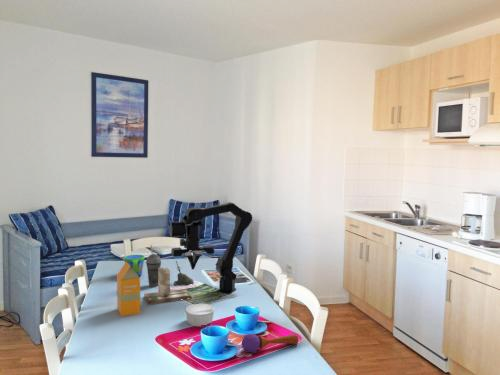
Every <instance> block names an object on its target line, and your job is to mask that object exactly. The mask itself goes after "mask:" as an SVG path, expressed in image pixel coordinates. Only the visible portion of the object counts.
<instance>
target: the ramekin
mask: <svg viewBox="0 0 500 375" xmlns="http://www.w3.org/2000/svg"><path fill="white" fill-rule="evenodd" d="M214 312H215V308H214V306H213V305H210V304H206V303H196V304H195V303H194V304H190V305H187V307H186V308H185V315H186V319H187V323H188V324H189V325H190V326H193V327H202V326H201V325H206V326H208V325H207V324H209V323H210V324H212V322H213V318H214ZM210 324H209V325H210Z"/></svg>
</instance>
